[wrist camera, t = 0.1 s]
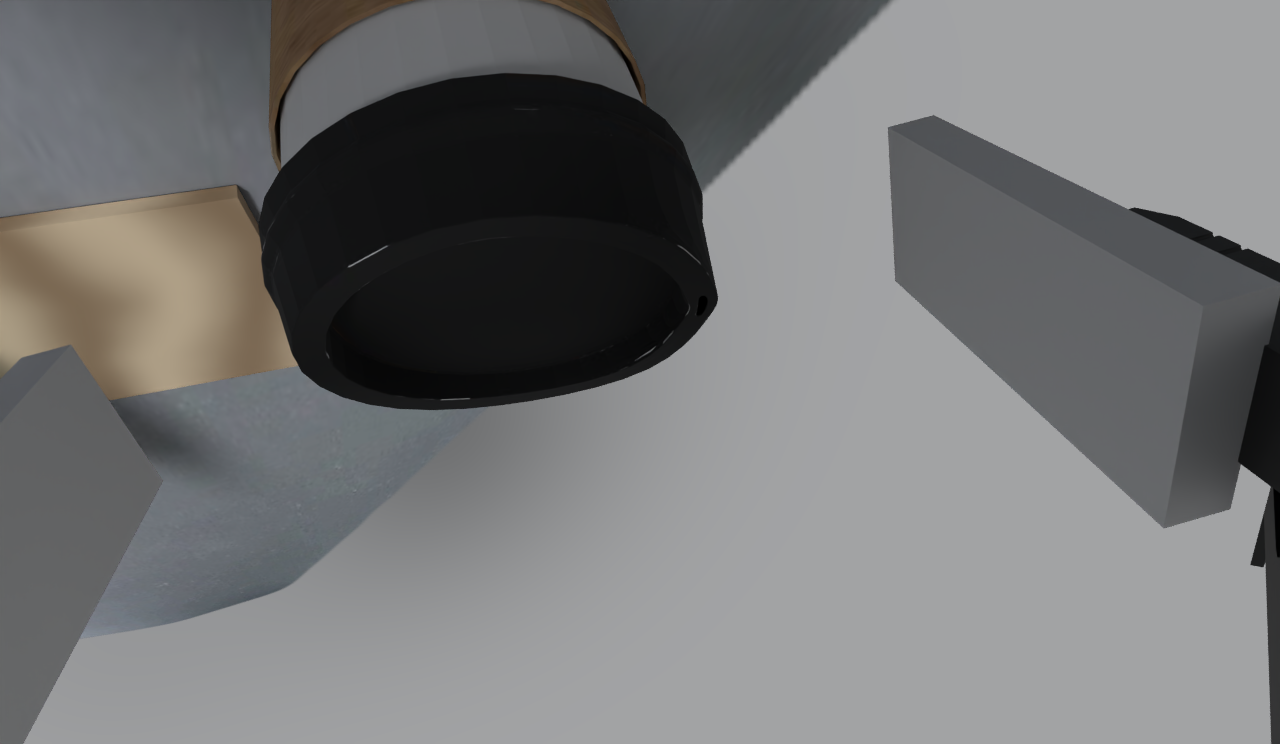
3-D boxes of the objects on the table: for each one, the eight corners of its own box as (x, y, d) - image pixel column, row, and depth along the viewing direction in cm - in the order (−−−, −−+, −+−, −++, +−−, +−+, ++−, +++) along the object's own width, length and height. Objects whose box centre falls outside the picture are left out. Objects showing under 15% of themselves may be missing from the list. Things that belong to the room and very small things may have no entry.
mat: (-58, 420, 40) (-59, 431, 39) (-341, 265, 27) (-344, 281, 27) (327, 350, 43) (328, 360, 43) (236, 185, 31) (237, 197, 30)
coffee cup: (568, -49, 25) (708, 383, 20) (291, -3, 24) (354, 468, 19) (548, -387, 18) (768, 161, 12) (140, -342, 17) (168, 283, 11)
